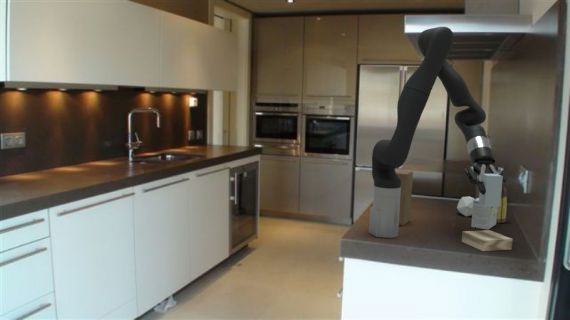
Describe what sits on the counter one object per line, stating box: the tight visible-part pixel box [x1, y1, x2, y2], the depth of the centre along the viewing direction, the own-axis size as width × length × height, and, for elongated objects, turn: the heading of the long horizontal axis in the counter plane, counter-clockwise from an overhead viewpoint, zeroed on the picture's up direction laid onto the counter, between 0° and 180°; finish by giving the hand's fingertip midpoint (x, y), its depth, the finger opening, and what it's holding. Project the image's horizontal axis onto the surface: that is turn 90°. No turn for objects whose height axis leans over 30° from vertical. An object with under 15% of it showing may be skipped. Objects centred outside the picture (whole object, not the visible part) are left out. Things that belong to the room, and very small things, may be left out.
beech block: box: [461, 229, 514, 252], centre depth 163 cm, size 11×11×4 cm
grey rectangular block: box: [478, 173, 503, 207], centre depth 161 cm, size 5×5×10 cm
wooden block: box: [395, 168, 414, 227], centre depth 191 cm, size 10×10×20 cm
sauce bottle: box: [496, 171, 508, 224], centre depth 196 cm, size 7×6×20 cm
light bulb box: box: [470, 197, 498, 230], centre depth 189 cm, size 11×7×11 cm, turn 142°
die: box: [456, 195, 476, 217], centre depth 207 cm, size 8×9×10 cm
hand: (492, 193), depth 159 cm, fingers closed on grey rectangular block, 5 cm apart
